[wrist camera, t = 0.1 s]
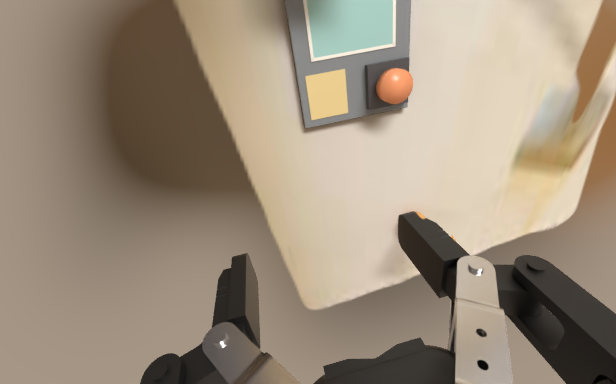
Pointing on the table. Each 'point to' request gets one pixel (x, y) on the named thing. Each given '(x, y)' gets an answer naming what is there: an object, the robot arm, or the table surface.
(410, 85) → the button
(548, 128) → the table surface
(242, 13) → the table surface
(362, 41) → the activity board
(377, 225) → the table surface
